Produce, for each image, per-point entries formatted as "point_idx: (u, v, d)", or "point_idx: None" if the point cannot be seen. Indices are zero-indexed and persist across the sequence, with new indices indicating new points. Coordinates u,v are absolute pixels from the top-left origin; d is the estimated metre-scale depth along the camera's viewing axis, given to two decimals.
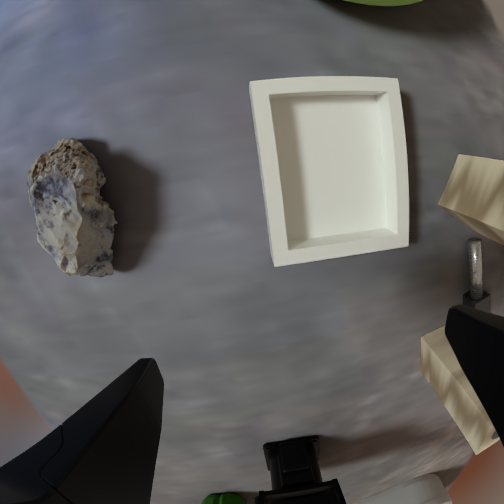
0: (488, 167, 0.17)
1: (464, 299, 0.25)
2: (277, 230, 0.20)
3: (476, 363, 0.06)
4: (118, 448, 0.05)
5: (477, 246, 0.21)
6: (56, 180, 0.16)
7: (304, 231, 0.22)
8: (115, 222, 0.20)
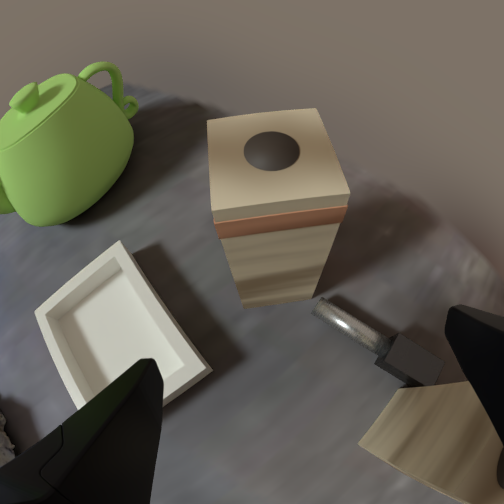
0: None
1: (379, 366, 0.19)
2: None
3: (476, 363, 0.06)
4: (118, 448, 0.05)
5: (319, 306, 0.20)
6: None
7: None
8: (12, 445, 0.16)
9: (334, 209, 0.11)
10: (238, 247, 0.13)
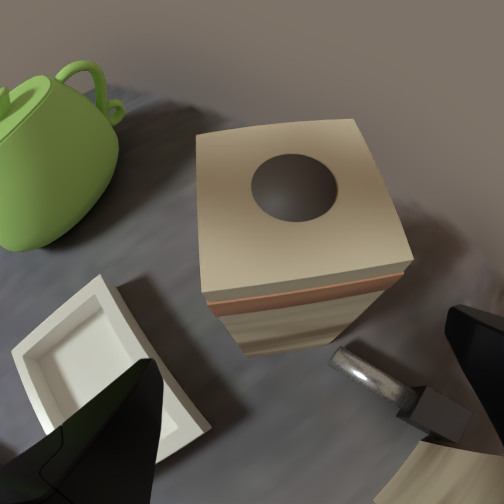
0: None
1: (402, 419, 0.15)
2: None
3: (476, 363, 0.06)
4: (118, 448, 0.05)
5: (337, 358, 0.16)
6: None
7: None
8: None
9: (385, 278, 0.07)
10: (243, 321, 0.09)
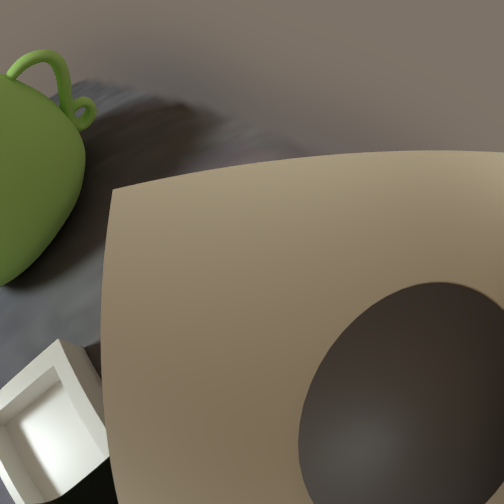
0: None
1: None
2: None
3: None
4: None
5: None
6: None
7: None
8: None
9: None
10: None
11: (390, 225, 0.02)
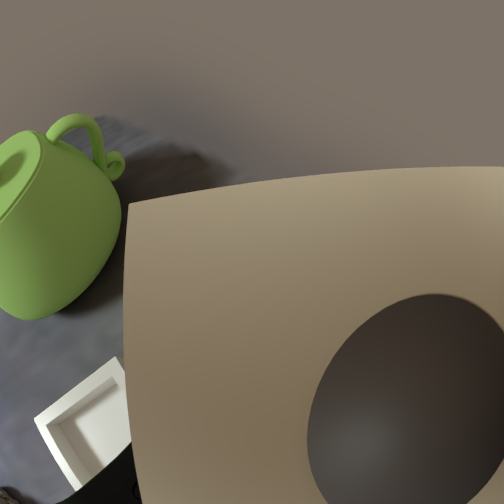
0: None
1: None
2: None
3: None
4: None
5: None
6: None
7: None
8: None
9: None
10: None
11: (390, 241, 0.03)
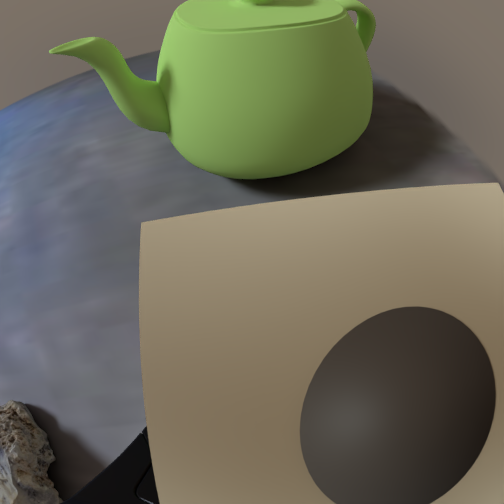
0: None
1: None
2: None
3: None
4: None
5: None
6: None
7: None
8: None
9: None
10: None
11: (375, 258, 0.03)
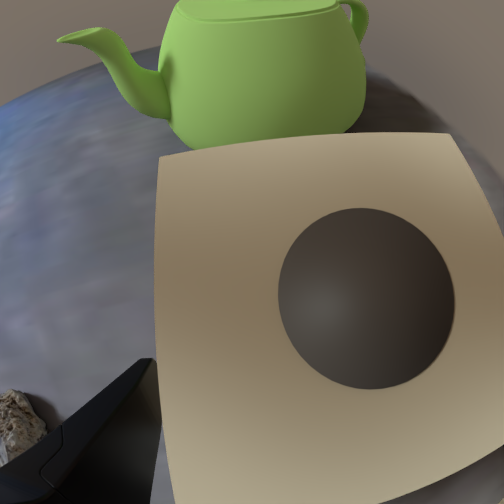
0: None
1: None
2: None
3: None
4: (118, 448, 0.05)
5: None
6: None
7: None
8: None
9: None
10: None
11: (336, 176, 0.04)
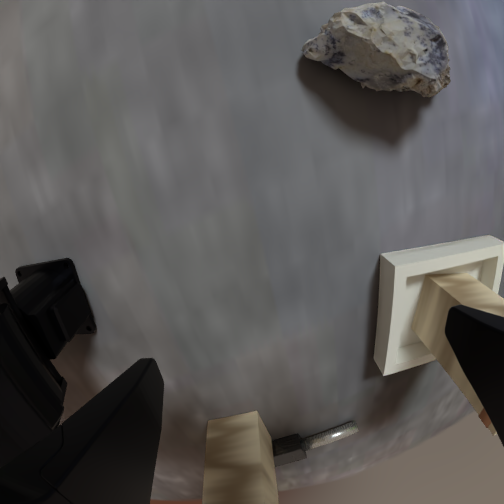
0: (491, 294, 0.18)
1: (294, 436, 0.27)
2: (423, 266, 0.19)
3: (476, 363, 0.06)
4: (118, 448, 0.05)
5: (356, 430, 0.26)
6: (441, 62, 0.13)
7: None
8: (364, 86, 0.16)
9: (489, 421, 0.12)
10: None
11: None
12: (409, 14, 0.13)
